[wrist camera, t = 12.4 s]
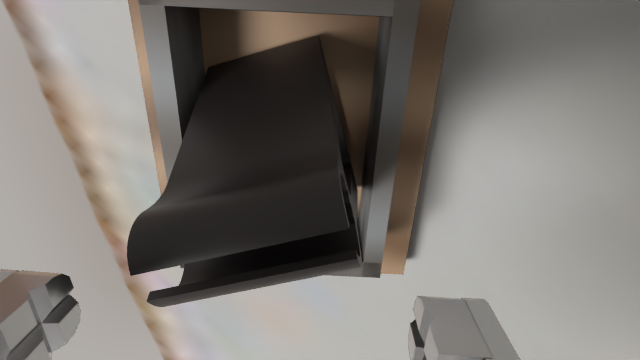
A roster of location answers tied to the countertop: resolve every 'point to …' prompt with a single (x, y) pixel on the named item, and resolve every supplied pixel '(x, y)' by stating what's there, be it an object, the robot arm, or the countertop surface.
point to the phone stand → (255, 182)
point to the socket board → (346, 79)
